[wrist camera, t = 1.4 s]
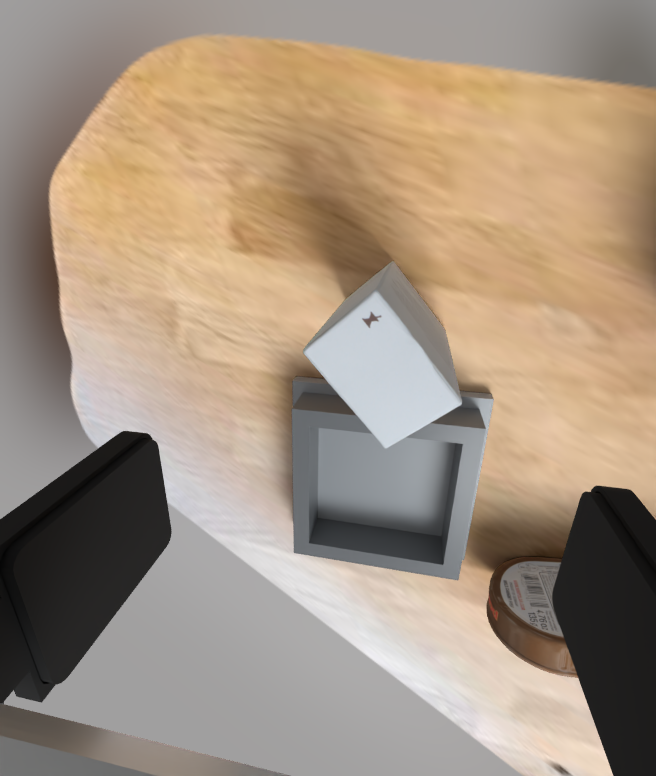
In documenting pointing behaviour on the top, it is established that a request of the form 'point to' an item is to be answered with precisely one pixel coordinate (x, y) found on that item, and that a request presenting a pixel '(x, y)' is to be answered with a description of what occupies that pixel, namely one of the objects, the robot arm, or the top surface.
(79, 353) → the top surface
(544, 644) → the tin
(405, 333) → the skincare box
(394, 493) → the grey square tray
